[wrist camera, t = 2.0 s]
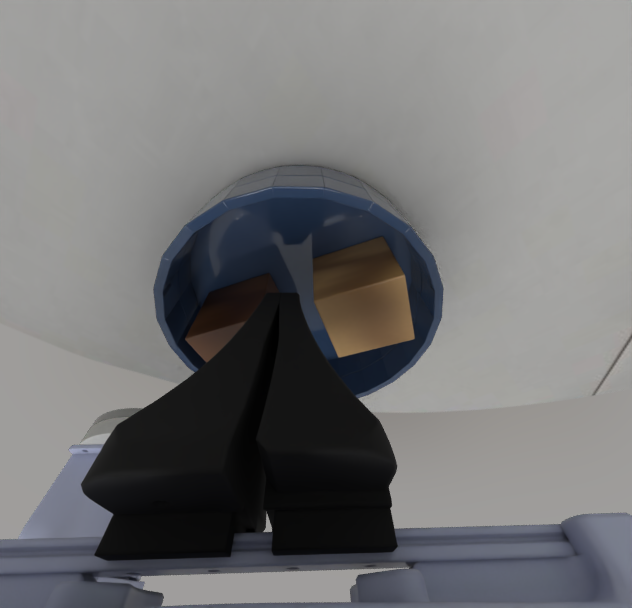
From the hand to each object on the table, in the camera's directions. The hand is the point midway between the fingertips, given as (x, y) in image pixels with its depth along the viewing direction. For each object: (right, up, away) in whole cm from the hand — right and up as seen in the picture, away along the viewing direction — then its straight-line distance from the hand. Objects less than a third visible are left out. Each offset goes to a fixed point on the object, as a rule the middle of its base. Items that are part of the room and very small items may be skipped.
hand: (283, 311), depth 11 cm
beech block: (+4, +2, +4) cm, 6 cm away
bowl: (+1, +1, +5) cm, 5 cm away
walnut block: (-3, 0, +5) cm, 6 cm away
